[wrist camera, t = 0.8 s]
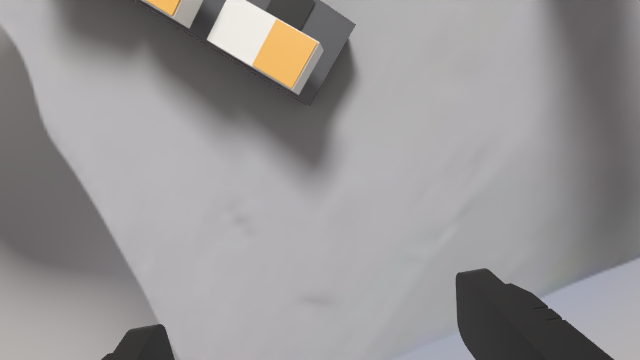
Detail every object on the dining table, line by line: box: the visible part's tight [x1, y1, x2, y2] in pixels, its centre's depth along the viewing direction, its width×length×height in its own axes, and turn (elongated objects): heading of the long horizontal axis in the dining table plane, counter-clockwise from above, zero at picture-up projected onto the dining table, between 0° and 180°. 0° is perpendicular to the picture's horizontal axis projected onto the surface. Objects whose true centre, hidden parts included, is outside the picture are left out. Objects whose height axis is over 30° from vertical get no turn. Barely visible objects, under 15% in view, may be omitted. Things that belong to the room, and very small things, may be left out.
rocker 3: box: [207, 0, 324, 95], centre depth 27 cm, size 4×8×2 cm, turn 59°
